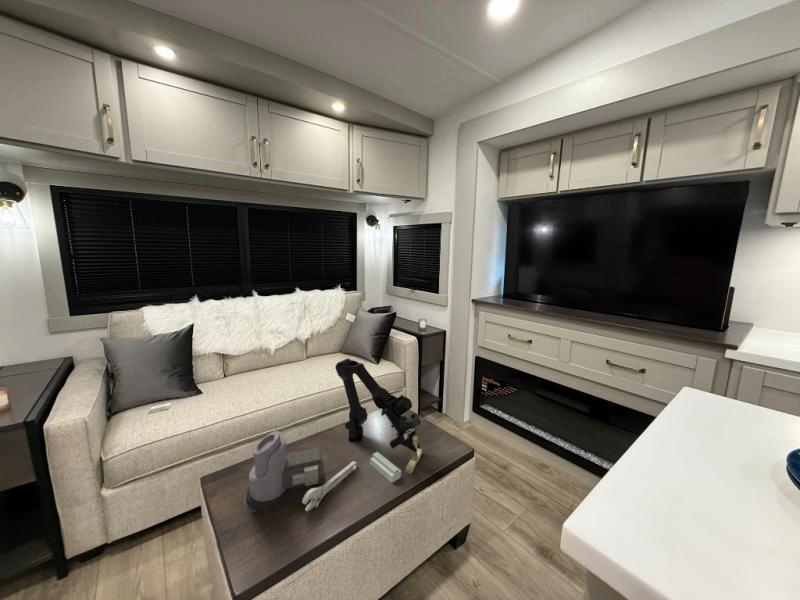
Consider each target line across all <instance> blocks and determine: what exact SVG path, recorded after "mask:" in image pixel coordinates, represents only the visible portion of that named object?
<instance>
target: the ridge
mask: <svg viewBox="0 0 800 600" xmlns="http://www.w3.org/2000/svg"><path fill="white" fill-rule="evenodd" d="M369 461H370V463H369V464H370V466H371V467H373V469H375V470H376V471H377V472H378V473H380V474H381V476H383V477H384V478H385V479H386V480H387V481H389V483H391V484H393V483H394V482H395V481H398V480H399V479H401V477H402V470H401V469H400V468H399V467H397V466H396V465H395V464H394V463H393V462H391V461H390V460H388V459H387V458H386V457H384V456H383V455H382V454H381V453H379V452H378V451H376V452H374V453H372V457H371V458H370V459H369Z"/></svg>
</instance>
